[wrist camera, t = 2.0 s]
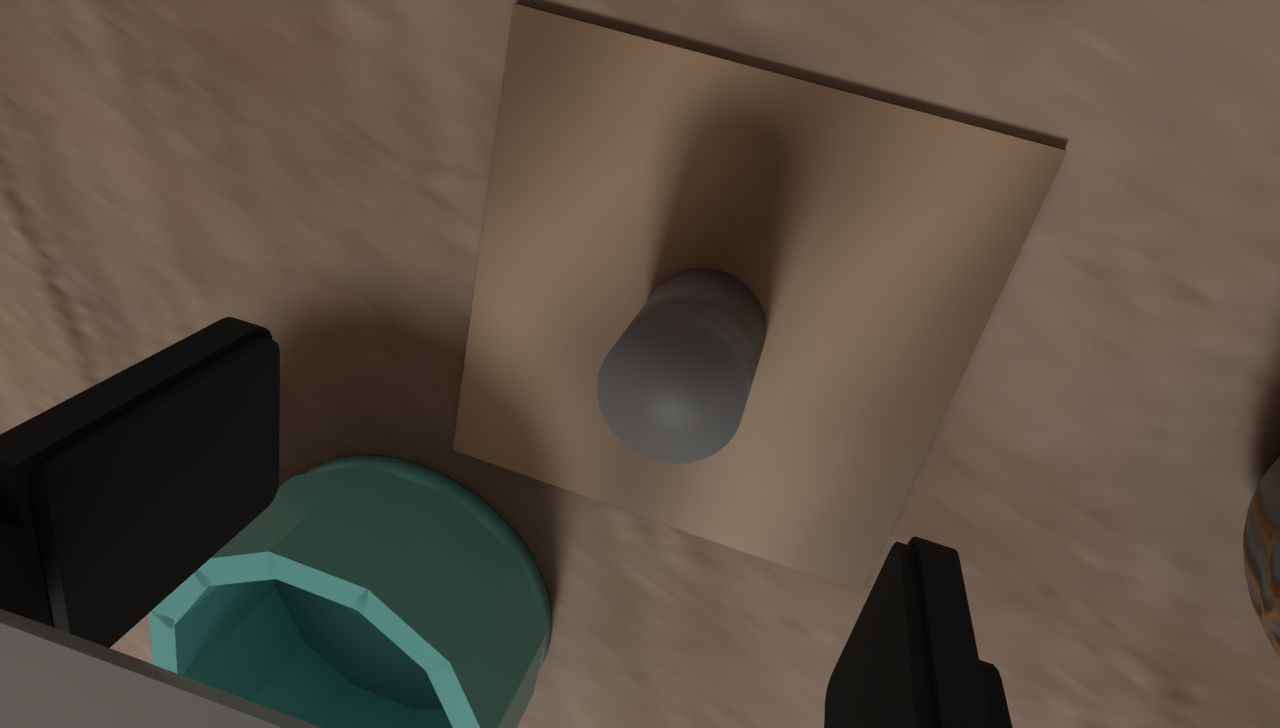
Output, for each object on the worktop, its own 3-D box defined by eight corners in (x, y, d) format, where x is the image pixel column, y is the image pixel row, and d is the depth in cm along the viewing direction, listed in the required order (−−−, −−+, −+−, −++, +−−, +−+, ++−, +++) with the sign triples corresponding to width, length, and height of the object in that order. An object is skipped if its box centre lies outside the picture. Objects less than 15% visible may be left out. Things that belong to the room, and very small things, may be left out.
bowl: (578, 520, 23) (508, 642, 19) (525, 747, 27) (460, 889, 23) (271, 412, 24) (139, 501, 20) (269, 645, 29) (160, 760, 24)
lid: (1058, 144, 17) (1123, 191, 12) (861, 574, 22) (860, 709, 18) (527, 3, 18) (424, 2, 14) (464, 436, 24) (376, 530, 19)
